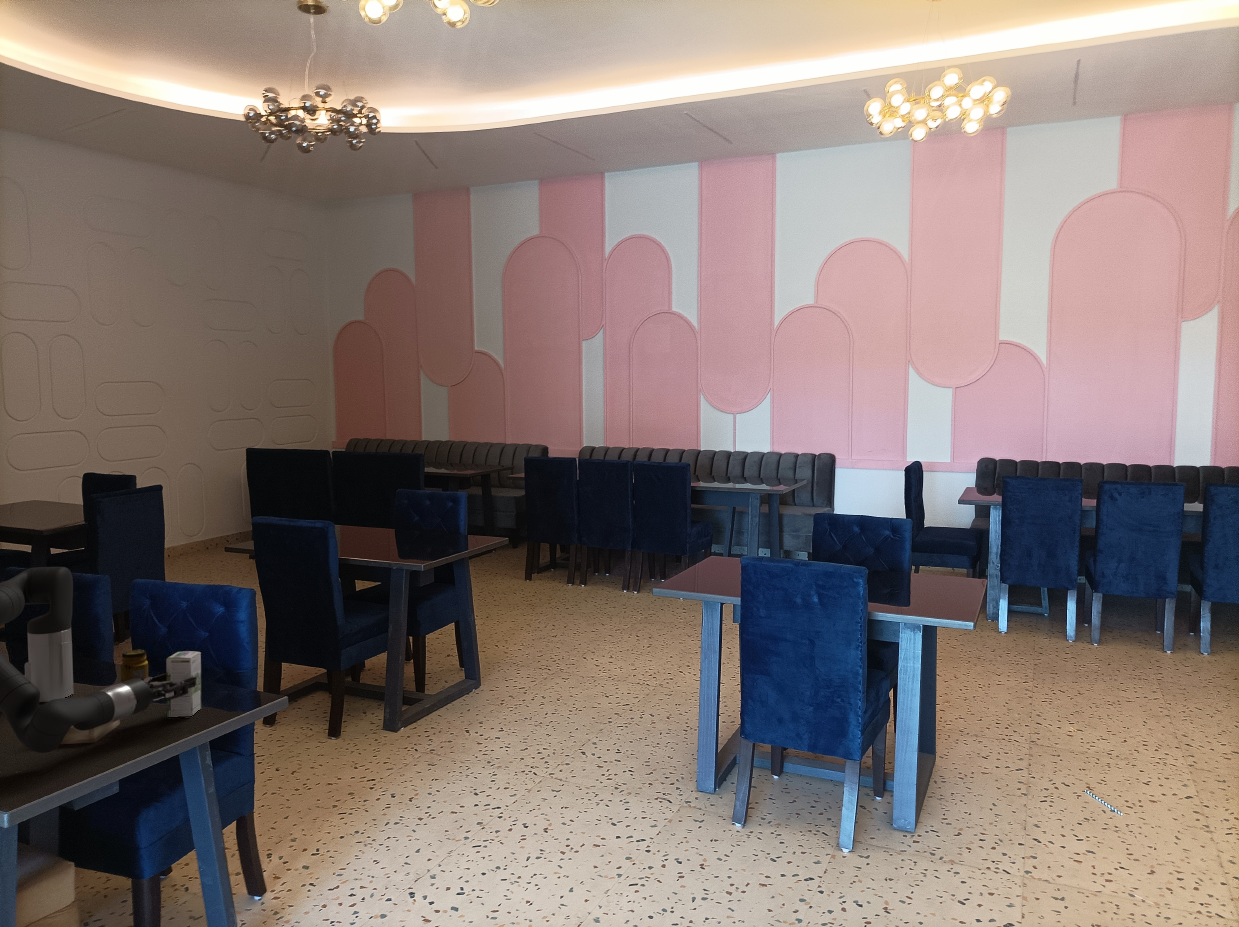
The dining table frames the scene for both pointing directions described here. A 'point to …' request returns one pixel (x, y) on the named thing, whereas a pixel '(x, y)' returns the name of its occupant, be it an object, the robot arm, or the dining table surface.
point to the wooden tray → (88, 733)
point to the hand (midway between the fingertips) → (181, 679)
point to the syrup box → (179, 670)
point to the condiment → (134, 665)
